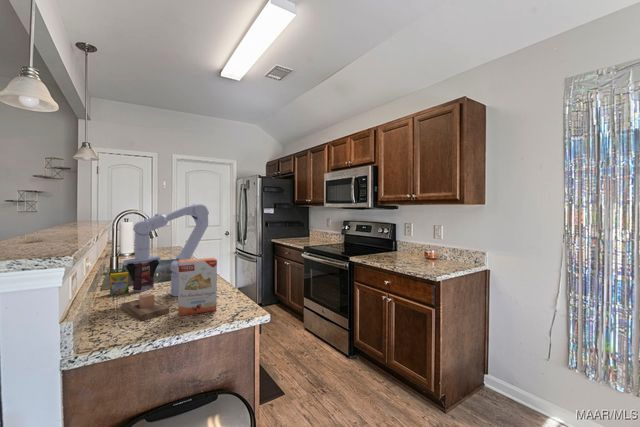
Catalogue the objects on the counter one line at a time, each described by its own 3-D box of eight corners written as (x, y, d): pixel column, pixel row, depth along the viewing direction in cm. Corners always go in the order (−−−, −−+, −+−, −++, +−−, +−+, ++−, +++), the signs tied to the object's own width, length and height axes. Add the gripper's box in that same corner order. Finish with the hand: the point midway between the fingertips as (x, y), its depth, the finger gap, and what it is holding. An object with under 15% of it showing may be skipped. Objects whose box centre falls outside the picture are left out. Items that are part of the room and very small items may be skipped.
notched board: (147, 302, 130) (147, 297, 130) (169, 312, 117) (169, 307, 117) (121, 308, 122) (121, 303, 122) (141, 320, 109) (141, 315, 109)
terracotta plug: (149, 307, 123) (149, 293, 123) (154, 309, 121) (154, 294, 121) (139, 310, 120) (139, 295, 120) (143, 312, 118) (143, 297, 118)
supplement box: (141, 292, 144) (141, 259, 144) (132, 291, 145) (132, 259, 145) (154, 287, 153) (154, 256, 152) (146, 286, 154) (146, 256, 153)
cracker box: (178, 316, 113) (178, 262, 113) (178, 311, 119) (177, 259, 118) (217, 311, 120) (217, 259, 119) (214, 306, 125) (214, 256, 124)
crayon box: (110, 295, 139) (109, 270, 139) (110, 293, 141) (109, 269, 141) (128, 292, 143) (128, 268, 143) (128, 291, 146) (128, 267, 145)
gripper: (155, 245, 140) (155, 274, 141) (120, 249, 129) (120, 280, 129) (162, 247, 136) (162, 277, 136) (126, 251, 125) (126, 283, 125)
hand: (142, 278), depth 133 cm, fingers open, 7 cm apart
